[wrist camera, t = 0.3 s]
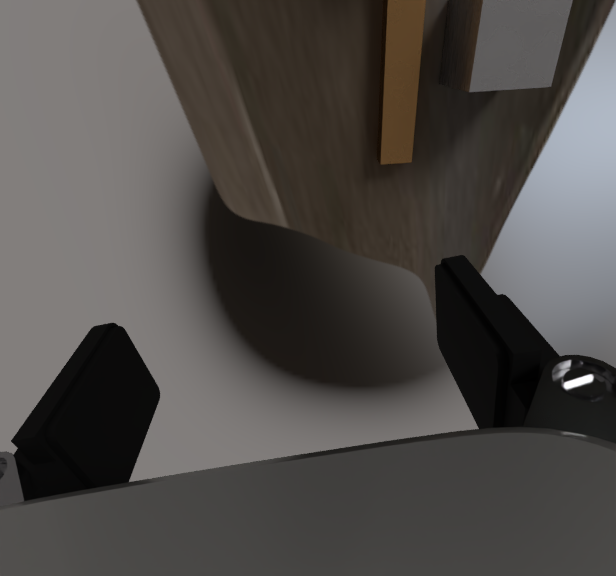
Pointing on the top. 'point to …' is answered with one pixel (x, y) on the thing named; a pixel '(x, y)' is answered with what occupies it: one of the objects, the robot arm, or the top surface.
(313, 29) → the top surface
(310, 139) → the top surface
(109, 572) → the robot arm
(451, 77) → the white block
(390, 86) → the hammer
